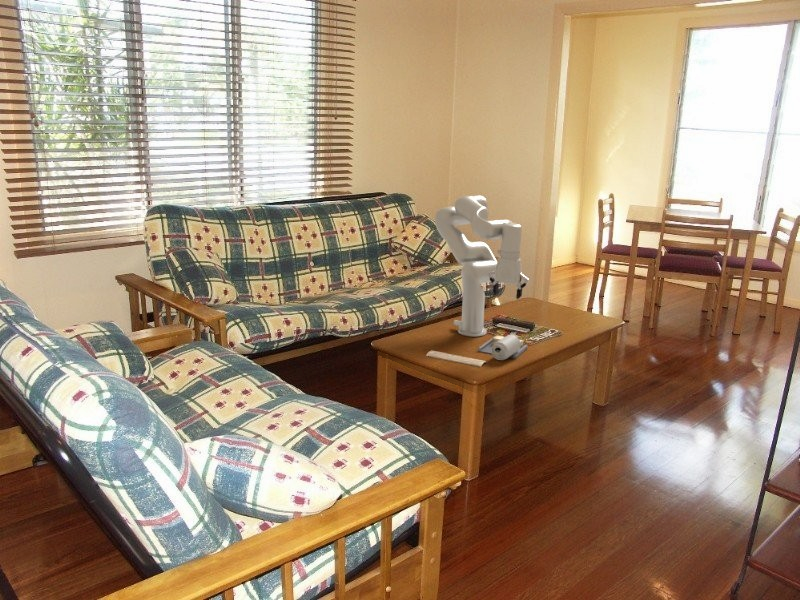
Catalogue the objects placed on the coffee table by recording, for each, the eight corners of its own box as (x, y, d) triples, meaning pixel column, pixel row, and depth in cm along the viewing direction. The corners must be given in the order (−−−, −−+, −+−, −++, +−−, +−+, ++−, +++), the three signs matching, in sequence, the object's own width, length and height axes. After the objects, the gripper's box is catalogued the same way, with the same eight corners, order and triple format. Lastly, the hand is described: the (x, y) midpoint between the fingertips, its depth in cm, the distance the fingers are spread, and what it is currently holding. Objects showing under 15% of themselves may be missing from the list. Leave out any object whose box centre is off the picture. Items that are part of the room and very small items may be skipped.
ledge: (492, 345, 296) (492, 338, 295) (495, 342, 299) (496, 335, 298) (519, 350, 290) (520, 343, 289) (522, 347, 294) (523, 340, 293)
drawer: (478, 351, 288) (478, 348, 288) (491, 341, 300) (491, 338, 300) (515, 358, 281) (515, 355, 280) (527, 348, 293) (527, 345, 292)
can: (517, 332, 283) (501, 341, 274) (524, 349, 283) (508, 359, 275) (503, 335, 288) (486, 345, 279) (509, 353, 288) (493, 363, 280)
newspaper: (426, 357, 283) (426, 353, 282) (434, 352, 289) (434, 348, 288) (481, 369, 272) (481, 364, 271) (488, 363, 278) (488, 359, 277)
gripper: (486, 253, 282) (483, 294, 287) (527, 259, 274) (524, 302, 279) (493, 250, 289) (490, 290, 294) (534, 256, 281) (530, 297, 286)
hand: (507, 296), depth 287 cm, fingers open, 9 cm apart
